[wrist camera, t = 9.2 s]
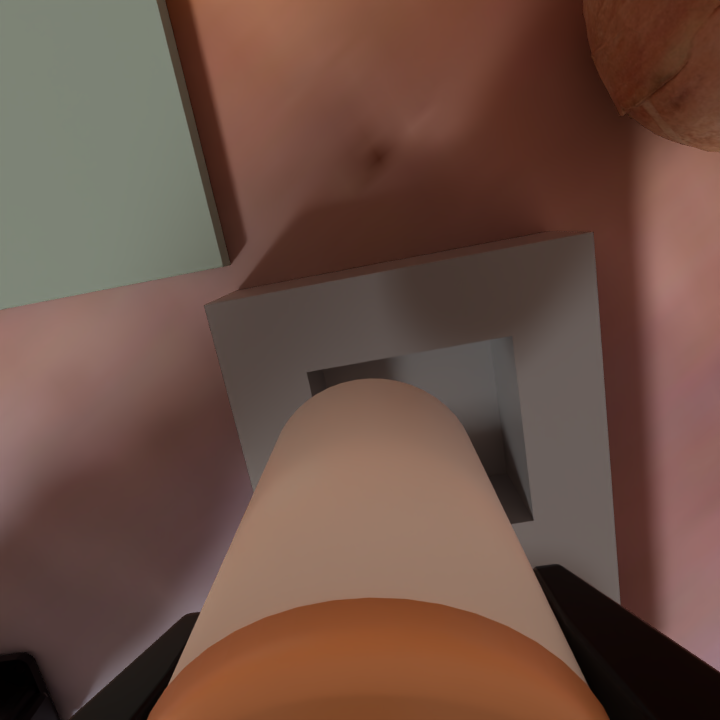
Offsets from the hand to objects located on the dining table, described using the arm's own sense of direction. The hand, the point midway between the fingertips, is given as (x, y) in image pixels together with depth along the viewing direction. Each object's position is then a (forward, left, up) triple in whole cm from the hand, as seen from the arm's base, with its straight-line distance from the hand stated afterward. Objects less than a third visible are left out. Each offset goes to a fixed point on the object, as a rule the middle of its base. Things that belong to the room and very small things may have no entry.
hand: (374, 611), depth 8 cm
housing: (+1, -6, -13) cm, 15 cm away
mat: (-9, +10, -13) cm, 19 cm away
